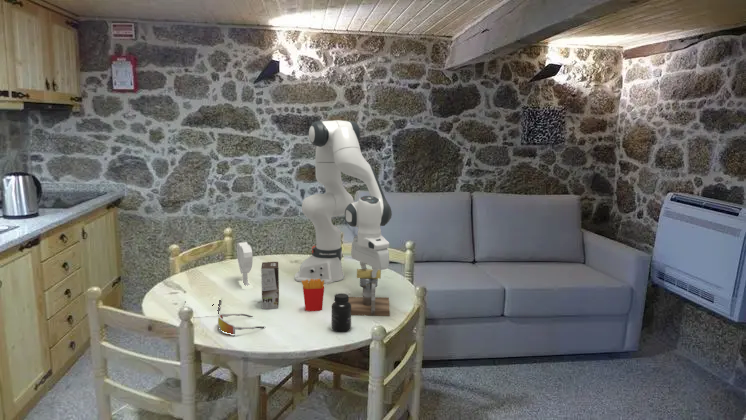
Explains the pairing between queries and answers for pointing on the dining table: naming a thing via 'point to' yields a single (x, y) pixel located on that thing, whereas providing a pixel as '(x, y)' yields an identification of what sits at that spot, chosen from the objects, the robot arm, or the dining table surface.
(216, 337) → the dining table surface
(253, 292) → the dining table surface
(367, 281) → the coupling
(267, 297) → the coffee box
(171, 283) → the dining table surface
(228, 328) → the sunglasses
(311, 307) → the french fries
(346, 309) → the supplement bottle
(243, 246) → the heart sculpture
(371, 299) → the post stand
